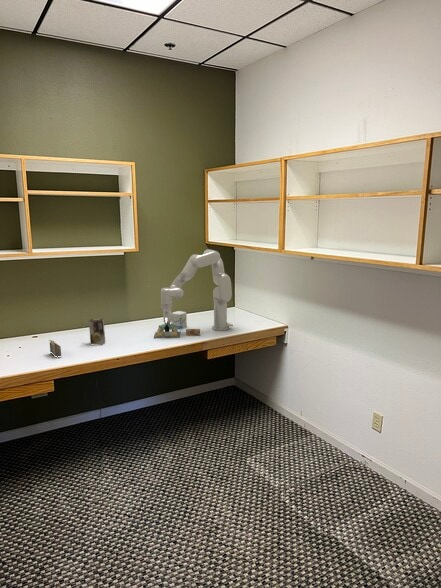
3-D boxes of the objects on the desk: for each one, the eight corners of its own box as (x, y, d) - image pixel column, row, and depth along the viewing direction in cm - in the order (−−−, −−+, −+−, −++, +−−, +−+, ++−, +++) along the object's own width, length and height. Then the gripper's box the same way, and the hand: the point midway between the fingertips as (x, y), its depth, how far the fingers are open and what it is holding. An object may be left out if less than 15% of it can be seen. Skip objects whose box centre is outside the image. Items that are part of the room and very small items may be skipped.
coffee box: (105, 341, 287) (104, 318, 283) (104, 344, 280) (103, 320, 277) (91, 342, 285) (89, 319, 282) (90, 345, 279) (88, 321, 276)
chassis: (180, 332, 305) (180, 324, 304) (179, 337, 294) (179, 328, 292) (155, 333, 305) (155, 324, 303) (153, 338, 293) (153, 329, 292)
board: (176, 326, 302) (176, 324, 301) (175, 329, 295) (175, 326, 294) (159, 327, 301) (159, 324, 301) (158, 329, 294) (158, 327, 294)
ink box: (179, 329, 313) (179, 314, 311) (171, 327, 318) (170, 312, 316) (187, 327, 320) (186, 312, 317) (178, 325, 325) (178, 310, 322)
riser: (200, 334, 302) (200, 328, 301) (200, 335, 298) (200, 330, 297) (186, 334, 302) (186, 328, 301) (185, 336, 298) (185, 330, 297)
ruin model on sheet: (49, 354, 263) (48, 339, 261) (54, 353, 265) (53, 338, 263) (56, 359, 254) (55, 344, 252) (61, 358, 256) (60, 343, 254)
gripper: (171, 308, 286) (172, 333, 290) (172, 302, 303) (173, 326, 307) (160, 308, 286) (160, 334, 290) (162, 302, 303) (163, 326, 307)
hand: (167, 330), depth 298 cm, fingers closed on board, 6 cm apart
